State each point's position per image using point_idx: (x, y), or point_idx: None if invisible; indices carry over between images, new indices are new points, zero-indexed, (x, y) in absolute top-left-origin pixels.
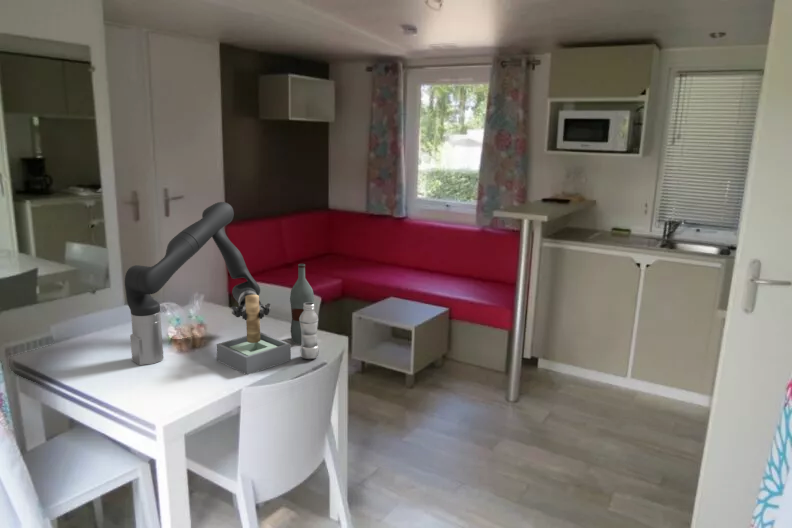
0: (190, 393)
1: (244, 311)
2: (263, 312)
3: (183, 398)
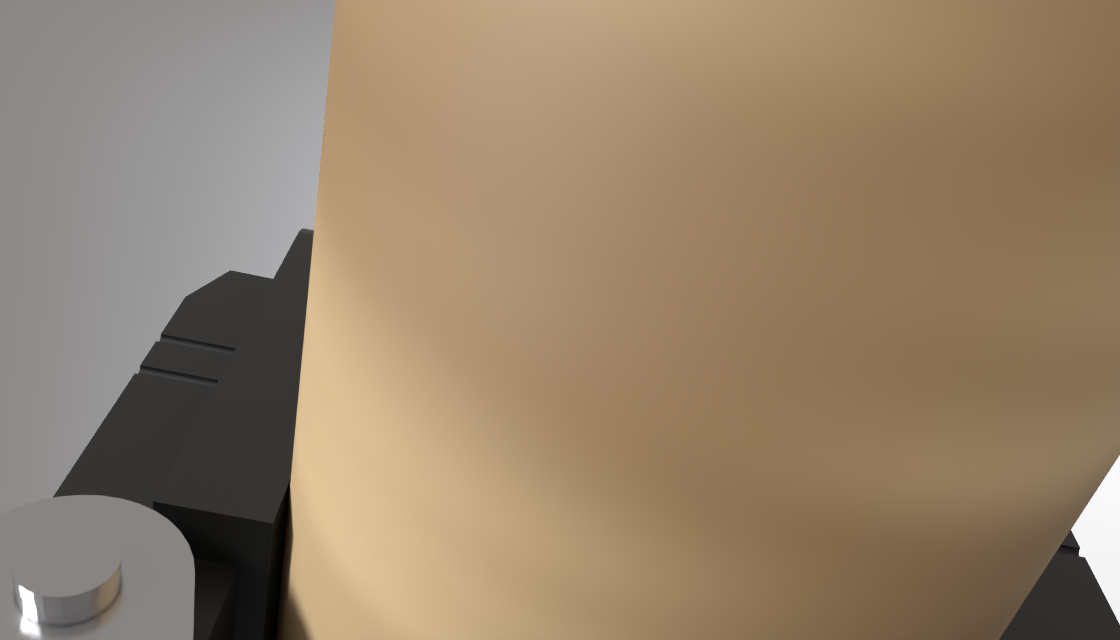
0: (1085, 544)
1: (1049, 609)
2: (160, 346)
3: (1104, 494)
